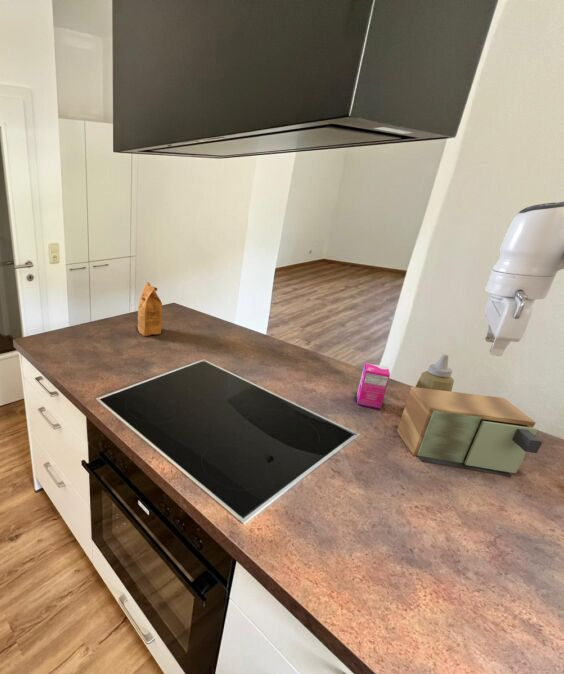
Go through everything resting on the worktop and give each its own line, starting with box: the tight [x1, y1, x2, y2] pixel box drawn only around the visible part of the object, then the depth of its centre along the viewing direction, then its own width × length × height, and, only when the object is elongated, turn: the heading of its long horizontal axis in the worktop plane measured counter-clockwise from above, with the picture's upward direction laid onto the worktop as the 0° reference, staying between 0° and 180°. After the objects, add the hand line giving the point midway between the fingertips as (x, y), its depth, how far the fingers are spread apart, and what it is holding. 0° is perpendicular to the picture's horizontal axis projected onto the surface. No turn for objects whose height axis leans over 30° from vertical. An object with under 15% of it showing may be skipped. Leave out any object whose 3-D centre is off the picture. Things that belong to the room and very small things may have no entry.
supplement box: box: [356, 362, 391, 411], centre depth 103 cm, size 6×6×12 cm
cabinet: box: [396, 386, 537, 478], centre depth 83 cm, size 18×12×13 cm, turn 72°
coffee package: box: [137, 281, 163, 337], centre depth 159 cm, size 10×12×22 cm
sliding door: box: [464, 421, 543, 474], centre depth 75 cm, size 9×5×11 cm, turn 72°
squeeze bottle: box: [414, 353, 455, 392], centre depth 96 cm, size 8×8×18 cm
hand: (492, 347), depth 79 cm, fingers open, 8 cm apart
